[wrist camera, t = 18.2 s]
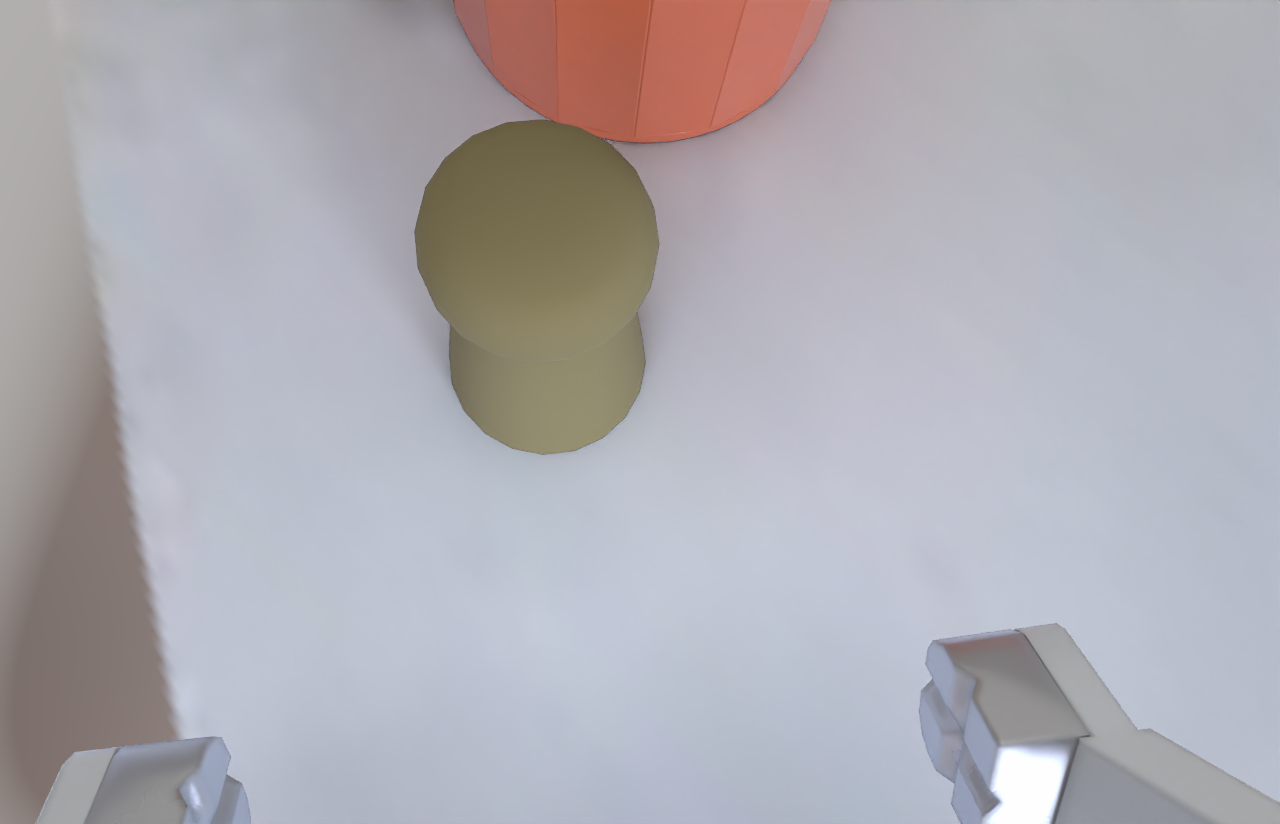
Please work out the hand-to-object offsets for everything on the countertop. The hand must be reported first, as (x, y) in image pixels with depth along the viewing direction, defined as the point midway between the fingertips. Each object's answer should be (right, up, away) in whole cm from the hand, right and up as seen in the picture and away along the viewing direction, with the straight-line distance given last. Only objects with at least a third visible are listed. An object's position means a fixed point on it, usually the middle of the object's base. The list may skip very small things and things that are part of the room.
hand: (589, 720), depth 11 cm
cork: (-2, +5, +19) cm, 20 cm away
